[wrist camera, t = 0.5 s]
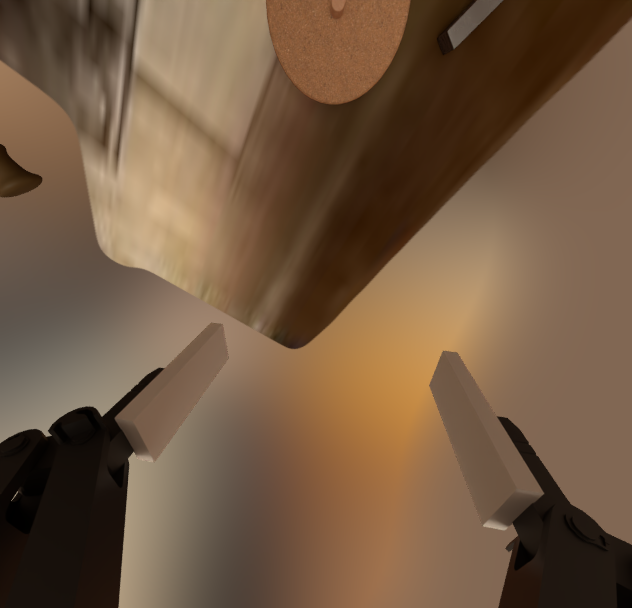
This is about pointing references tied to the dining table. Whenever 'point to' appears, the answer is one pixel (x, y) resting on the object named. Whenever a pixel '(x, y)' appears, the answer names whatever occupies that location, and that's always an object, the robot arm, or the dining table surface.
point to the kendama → (15, 177)
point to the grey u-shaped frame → (466, 23)
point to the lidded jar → (336, 43)
